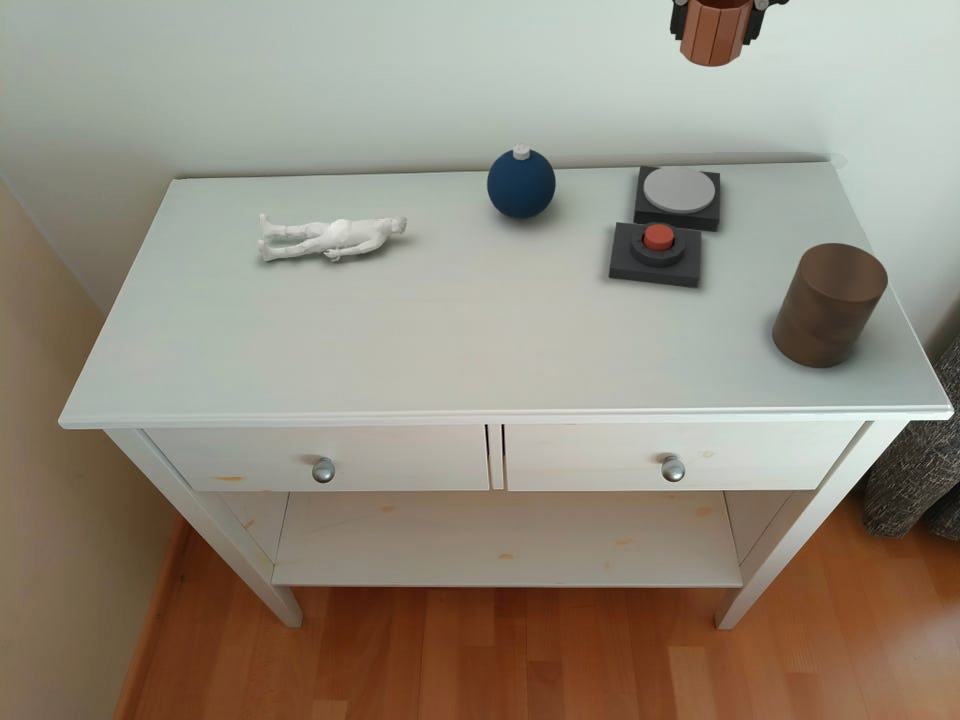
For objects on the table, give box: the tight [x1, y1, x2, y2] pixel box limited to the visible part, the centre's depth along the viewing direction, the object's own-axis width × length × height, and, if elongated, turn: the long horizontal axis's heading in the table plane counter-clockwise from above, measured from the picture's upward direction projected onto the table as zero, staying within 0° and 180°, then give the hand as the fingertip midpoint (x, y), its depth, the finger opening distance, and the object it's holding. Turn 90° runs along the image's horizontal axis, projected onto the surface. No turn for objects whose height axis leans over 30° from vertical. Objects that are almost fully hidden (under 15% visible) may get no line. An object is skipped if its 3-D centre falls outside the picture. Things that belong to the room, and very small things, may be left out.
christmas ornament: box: [486, 143, 557, 220], centre depth 89 cm, size 8×8×10 cm
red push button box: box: [608, 221, 702, 289], centre depth 85 cm, size 10×8×3 cm
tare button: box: [644, 224, 674, 251], centre depth 84 cm, size 3×3×1 cm
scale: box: [632, 165, 721, 232], centre depth 92 cm, size 10×9×3 cm
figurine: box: [257, 212, 409, 263], centre depth 89 cm, size 7×4×18 cm
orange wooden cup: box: [679, 0, 753, 68], centre depth 74 cm, size 6×6×6 cm
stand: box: [771, 242, 889, 369], centre depth 74 cm, size 8×8×10 cm
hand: (712, 38), depth 75 cm, fingers closed on orange wooden cup, 6 cm apart
